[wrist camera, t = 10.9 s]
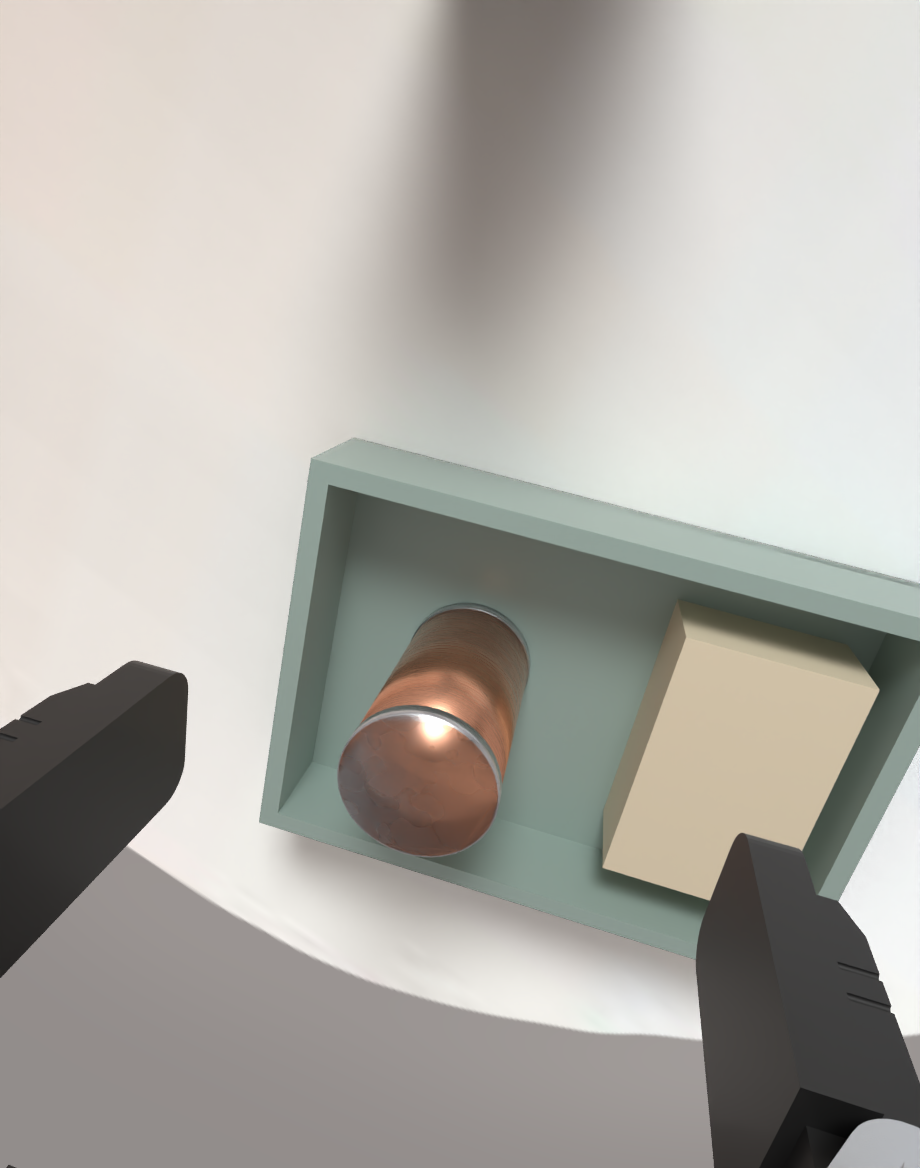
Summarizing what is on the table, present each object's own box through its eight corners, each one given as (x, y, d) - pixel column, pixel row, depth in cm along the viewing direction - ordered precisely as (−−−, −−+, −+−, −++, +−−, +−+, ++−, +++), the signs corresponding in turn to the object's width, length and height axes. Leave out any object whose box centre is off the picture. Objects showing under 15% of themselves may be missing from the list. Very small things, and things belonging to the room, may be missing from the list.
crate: (922, 584, 30) (978, 633, 26) (768, 904, 36) (791, 990, 32) (353, 437, 33) (311, 458, 28) (301, 761, 39) (259, 822, 34)
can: (544, 622, 33) (518, 743, 24) (513, 728, 35) (477, 877, 26) (424, 588, 33) (352, 692, 24) (400, 693, 35) (325, 828, 26)
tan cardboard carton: (847, 644, 31) (879, 689, 27) (752, 854, 35) (769, 918, 31) (677, 599, 31) (686, 637, 28) (603, 809, 35) (602, 867, 32)
